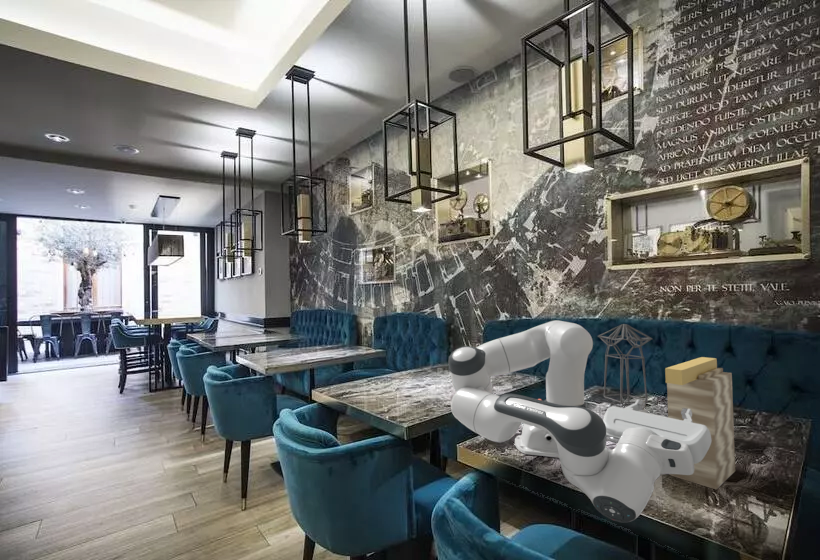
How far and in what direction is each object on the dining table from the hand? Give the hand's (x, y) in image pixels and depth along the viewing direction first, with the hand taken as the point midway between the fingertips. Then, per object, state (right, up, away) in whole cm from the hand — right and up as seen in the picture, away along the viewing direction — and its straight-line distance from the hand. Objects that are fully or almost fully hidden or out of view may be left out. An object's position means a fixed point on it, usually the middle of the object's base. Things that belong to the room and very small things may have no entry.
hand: (663, 406), depth 92 cm
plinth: (+20, -22, +15) cm, 33 cm away
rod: (+15, +4, +13) cm, 20 cm away
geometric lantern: (+31, -24, +73) cm, 83 cm away
